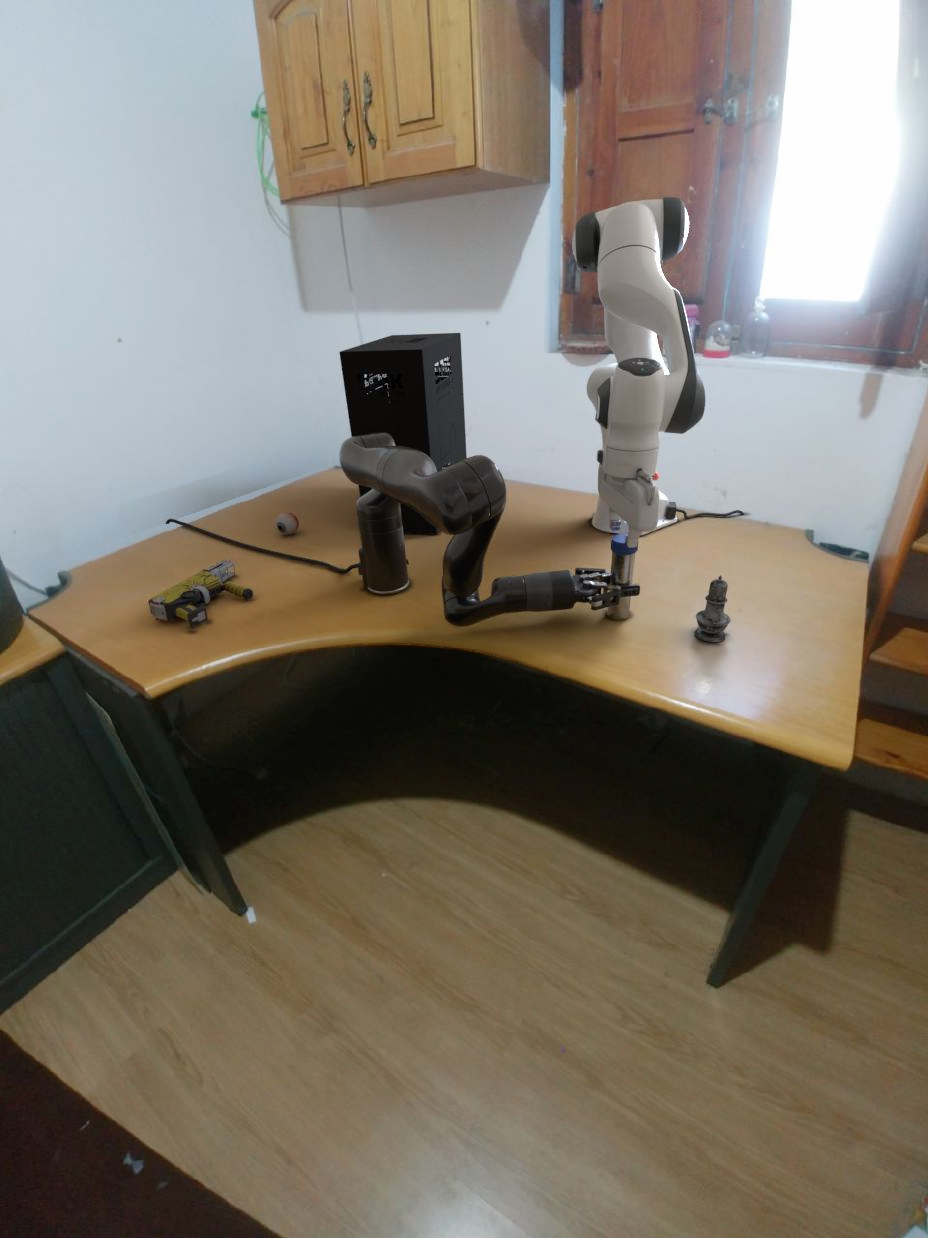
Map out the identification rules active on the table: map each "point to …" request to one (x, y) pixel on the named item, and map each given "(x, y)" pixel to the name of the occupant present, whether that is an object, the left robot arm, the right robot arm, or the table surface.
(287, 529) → the eyeball
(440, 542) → the table surface
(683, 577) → the table surface
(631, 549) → the lid
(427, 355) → the cardboard box
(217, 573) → the toy gun
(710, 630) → the grey stone tiered figure
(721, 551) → the table surface
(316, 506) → the table surface
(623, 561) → the jar
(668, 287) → the right robot arm
